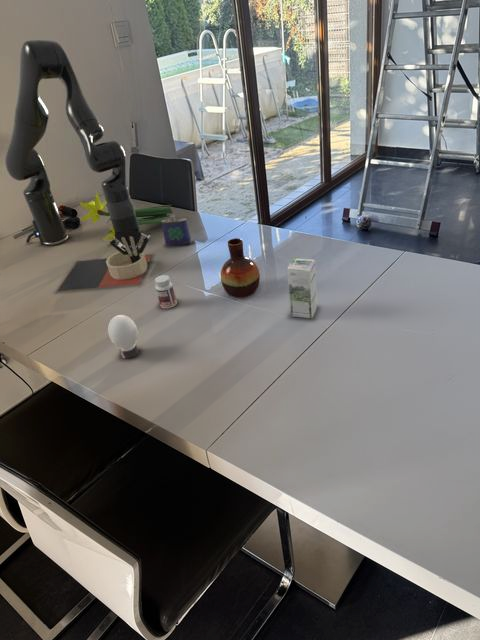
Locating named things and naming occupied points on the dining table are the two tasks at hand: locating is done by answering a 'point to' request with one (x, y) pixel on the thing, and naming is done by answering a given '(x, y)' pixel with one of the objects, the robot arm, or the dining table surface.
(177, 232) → the flask
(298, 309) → the syrup box
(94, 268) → the placemat
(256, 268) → the vase
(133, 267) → the bowl
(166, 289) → the pill bottle
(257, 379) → the dining table surface
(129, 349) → the light bulb
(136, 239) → the robot arm
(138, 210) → the daffodil flowers
